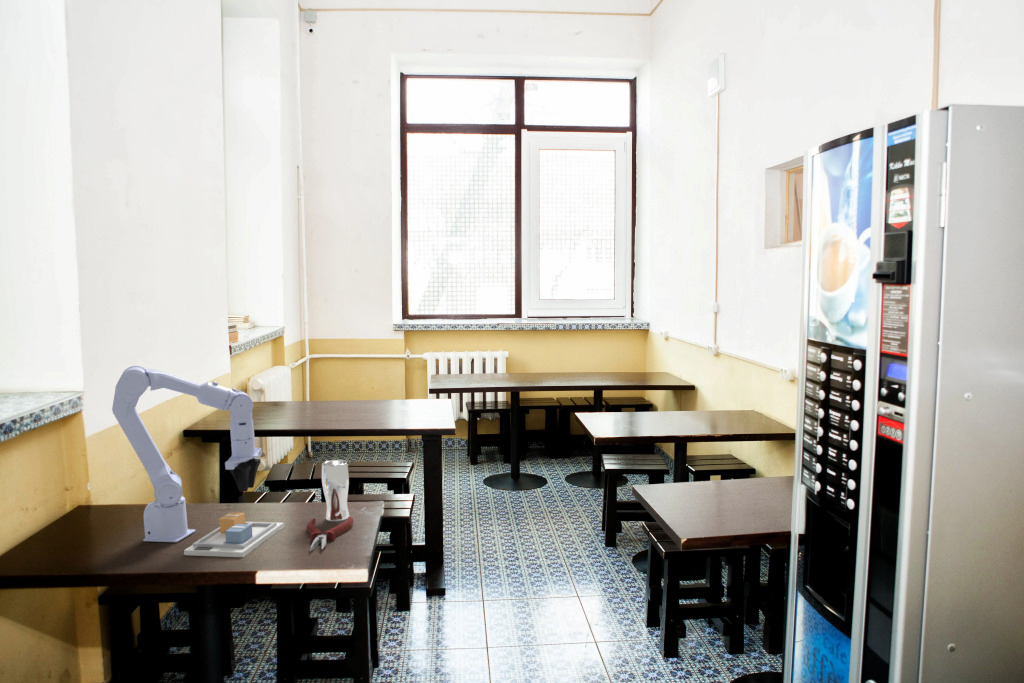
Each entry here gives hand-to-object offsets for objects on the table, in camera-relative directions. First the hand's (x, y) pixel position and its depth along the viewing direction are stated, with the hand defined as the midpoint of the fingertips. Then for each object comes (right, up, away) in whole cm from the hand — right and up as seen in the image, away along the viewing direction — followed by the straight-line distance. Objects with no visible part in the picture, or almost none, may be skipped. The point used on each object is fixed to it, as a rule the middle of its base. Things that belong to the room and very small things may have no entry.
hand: (246, 489), depth 193 cm
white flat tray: (+2, -11, -11) cm, 15 cm away
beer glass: (+23, -9, +3) cm, 25 cm away
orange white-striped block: (-1, -9, -7) cm, 11 cm away
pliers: (+22, -10, -10) cm, 26 cm away
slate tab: (+4, -10, -15) cm, 19 cm away
